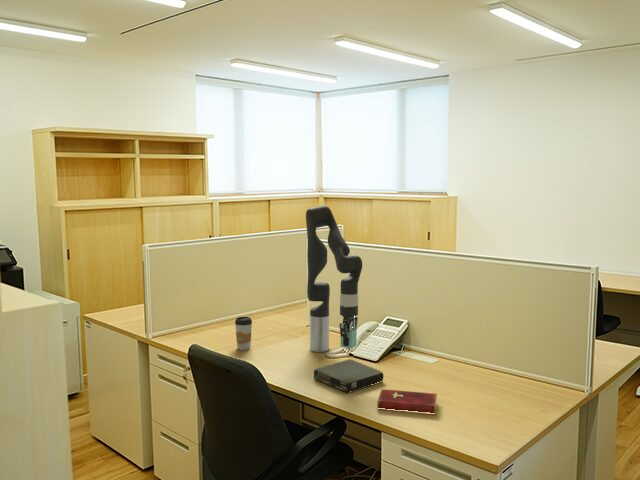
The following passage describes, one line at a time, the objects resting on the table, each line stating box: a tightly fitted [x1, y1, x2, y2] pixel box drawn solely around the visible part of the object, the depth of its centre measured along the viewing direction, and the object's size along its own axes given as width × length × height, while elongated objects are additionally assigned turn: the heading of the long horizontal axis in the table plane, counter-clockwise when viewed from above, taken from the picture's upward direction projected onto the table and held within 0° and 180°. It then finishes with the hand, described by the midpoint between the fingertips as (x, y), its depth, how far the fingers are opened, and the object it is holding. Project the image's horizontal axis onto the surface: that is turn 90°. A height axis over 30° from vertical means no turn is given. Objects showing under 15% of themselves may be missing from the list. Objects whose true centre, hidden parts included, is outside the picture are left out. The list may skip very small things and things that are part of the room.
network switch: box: [313, 359, 384, 393], centre depth 240 cm, size 23×24×5 cm
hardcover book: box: [376, 388, 438, 414], centre depth 214 cm, size 12×21×4 cm, turn 77°
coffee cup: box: [234, 316, 253, 351], centre depth 282 cm, size 8×8×15 cm
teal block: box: [340, 328, 358, 349], centre depth 238 cm, size 5×5×7 cm
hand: (348, 343), depth 239 cm, fingers closed on teal block, 5 cm apart
